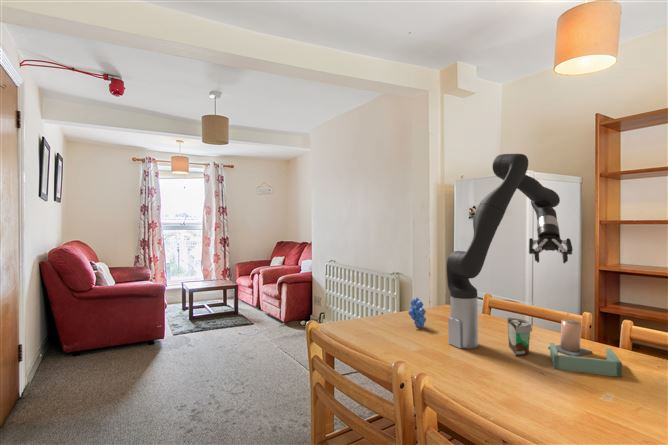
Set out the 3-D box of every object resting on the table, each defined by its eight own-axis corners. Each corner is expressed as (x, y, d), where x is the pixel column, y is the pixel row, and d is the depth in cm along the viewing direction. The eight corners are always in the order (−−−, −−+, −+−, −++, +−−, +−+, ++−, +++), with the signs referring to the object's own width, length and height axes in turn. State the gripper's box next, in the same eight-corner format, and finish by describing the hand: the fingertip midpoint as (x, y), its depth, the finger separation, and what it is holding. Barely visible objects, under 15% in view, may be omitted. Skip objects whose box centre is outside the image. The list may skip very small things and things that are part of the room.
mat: (573, 357, 122) (573, 355, 122) (548, 348, 131) (548, 346, 131) (592, 353, 126) (592, 351, 126) (566, 345, 134) (566, 343, 134)
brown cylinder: (570, 351, 125) (571, 324, 125) (556, 346, 131) (557, 319, 130) (584, 351, 126) (585, 323, 126) (570, 345, 132) (571, 319, 132)
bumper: (622, 377, 107) (621, 362, 107) (554, 368, 113) (554, 355, 113) (611, 361, 118) (610, 348, 118) (550, 354, 125) (550, 342, 125)
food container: (537, 359, 122) (537, 327, 122) (517, 357, 123) (516, 326, 123) (526, 346, 134) (526, 317, 134) (507, 345, 135) (507, 317, 135)
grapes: (402, 323, 166) (402, 296, 166) (417, 322, 167) (416, 295, 167) (414, 331, 154) (413, 301, 154) (429, 329, 156) (429, 300, 156)
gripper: (527, 223, 152) (529, 254, 141) (569, 222, 146) (575, 255, 135) (527, 236, 157) (529, 267, 146) (568, 236, 151) (573, 268, 140)
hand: (551, 261), depth 141 cm, fingers open, 8 cm apart
